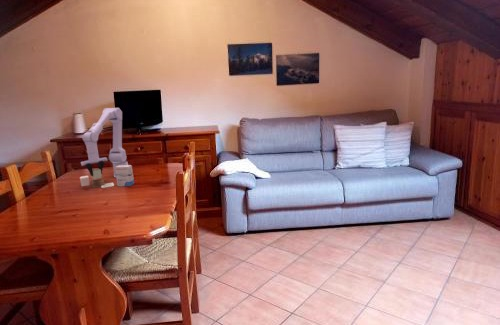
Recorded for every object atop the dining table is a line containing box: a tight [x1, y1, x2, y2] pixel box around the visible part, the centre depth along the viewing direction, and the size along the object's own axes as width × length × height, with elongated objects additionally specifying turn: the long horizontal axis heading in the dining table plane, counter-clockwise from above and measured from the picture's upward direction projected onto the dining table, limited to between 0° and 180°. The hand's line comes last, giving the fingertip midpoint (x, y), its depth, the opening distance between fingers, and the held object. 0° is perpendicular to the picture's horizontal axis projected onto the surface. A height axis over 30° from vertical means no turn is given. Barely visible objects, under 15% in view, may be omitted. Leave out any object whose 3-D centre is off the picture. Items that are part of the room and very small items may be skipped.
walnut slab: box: [90, 177, 106, 189], centre depth 205 cm, size 7×7×3 cm
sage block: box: [90, 167, 103, 180], centre depth 204 cm, size 4×4×5 cm
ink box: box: [115, 164, 135, 187], centre depth 202 cm, size 8×5×12 cm, turn 84°
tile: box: [100, 182, 115, 189], centre depth 204 cm, size 7×7×1 cm
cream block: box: [79, 175, 91, 187], centre depth 208 cm, size 4×4×5 cm
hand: (96, 174), depth 204 cm, fingers closed on sage block, 4 cm apart
